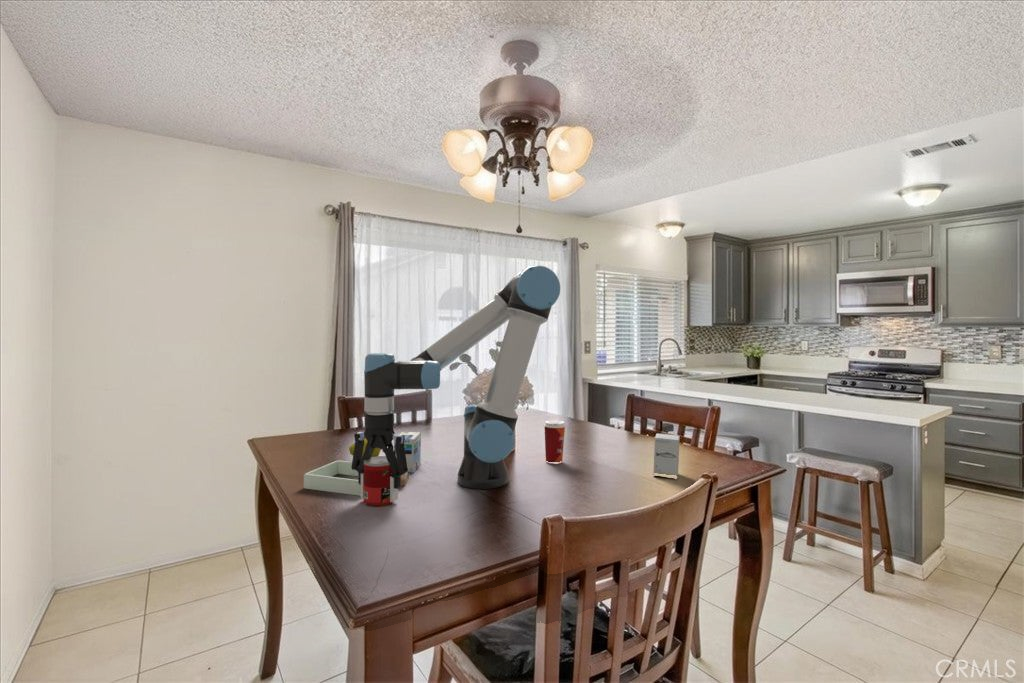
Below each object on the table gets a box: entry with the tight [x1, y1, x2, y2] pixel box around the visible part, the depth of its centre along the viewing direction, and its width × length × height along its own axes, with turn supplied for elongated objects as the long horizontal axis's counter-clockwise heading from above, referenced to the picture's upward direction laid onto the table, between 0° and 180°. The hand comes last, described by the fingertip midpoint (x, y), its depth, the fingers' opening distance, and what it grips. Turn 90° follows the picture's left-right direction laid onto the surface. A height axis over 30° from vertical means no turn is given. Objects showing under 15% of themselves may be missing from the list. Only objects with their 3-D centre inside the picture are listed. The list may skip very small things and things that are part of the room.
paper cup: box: [543, 419, 566, 462], centre depth 167 cm, size 8×8×14 cm
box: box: [303, 460, 361, 497], centre depth 141 cm, size 19×15×4 cm
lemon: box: [348, 438, 382, 457], centre depth 165 cm, size 11×8×8 cm
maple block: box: [400, 464, 409, 487], centre depth 142 cm, size 5×5×5 cm
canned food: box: [363, 455, 393, 507], centre depth 127 cm, size 8×8×11 cm
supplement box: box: [653, 433, 681, 476], centre depth 154 cm, size 7×7×13 cm
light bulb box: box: [393, 431, 422, 473], centre depth 158 cm, size 11×7×11 cm, turn 179°
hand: (379, 498), depth 127 cm, fingers closed on canned food, 8 cm apart
